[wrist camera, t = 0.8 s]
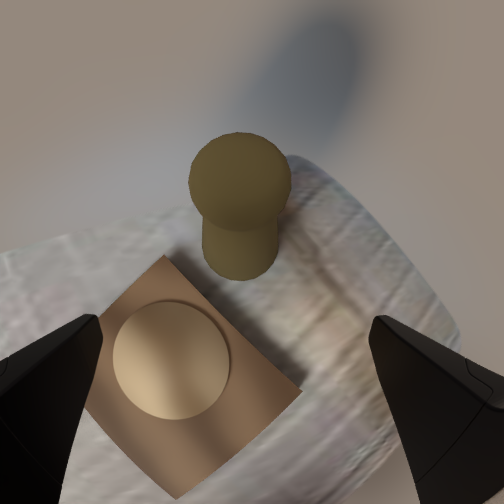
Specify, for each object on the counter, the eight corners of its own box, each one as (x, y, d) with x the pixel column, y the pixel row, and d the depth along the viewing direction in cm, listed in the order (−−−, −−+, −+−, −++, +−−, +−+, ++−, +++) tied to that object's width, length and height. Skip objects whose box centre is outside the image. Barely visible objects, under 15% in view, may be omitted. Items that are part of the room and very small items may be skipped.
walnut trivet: (179, 492, 17) (175, 501, 15) (63, 364, 20) (51, 364, 18) (298, 388, 20) (303, 391, 19) (168, 260, 23) (163, 253, 21)
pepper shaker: (186, 239, 24) (150, 158, 13) (244, 196, 25) (246, 99, 15) (236, 297, 22) (231, 248, 12) (294, 247, 24) (331, 169, 13)
